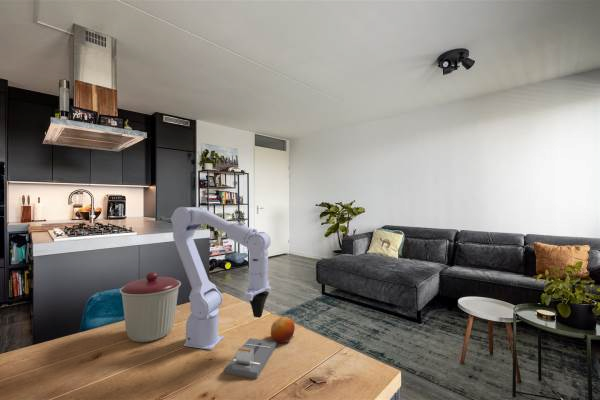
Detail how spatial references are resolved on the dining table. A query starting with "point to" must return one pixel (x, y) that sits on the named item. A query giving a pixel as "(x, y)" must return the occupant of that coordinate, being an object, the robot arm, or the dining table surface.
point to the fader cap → (245, 356)
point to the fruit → (282, 330)
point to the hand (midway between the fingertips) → (257, 316)
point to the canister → (149, 307)
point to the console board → (261, 356)
